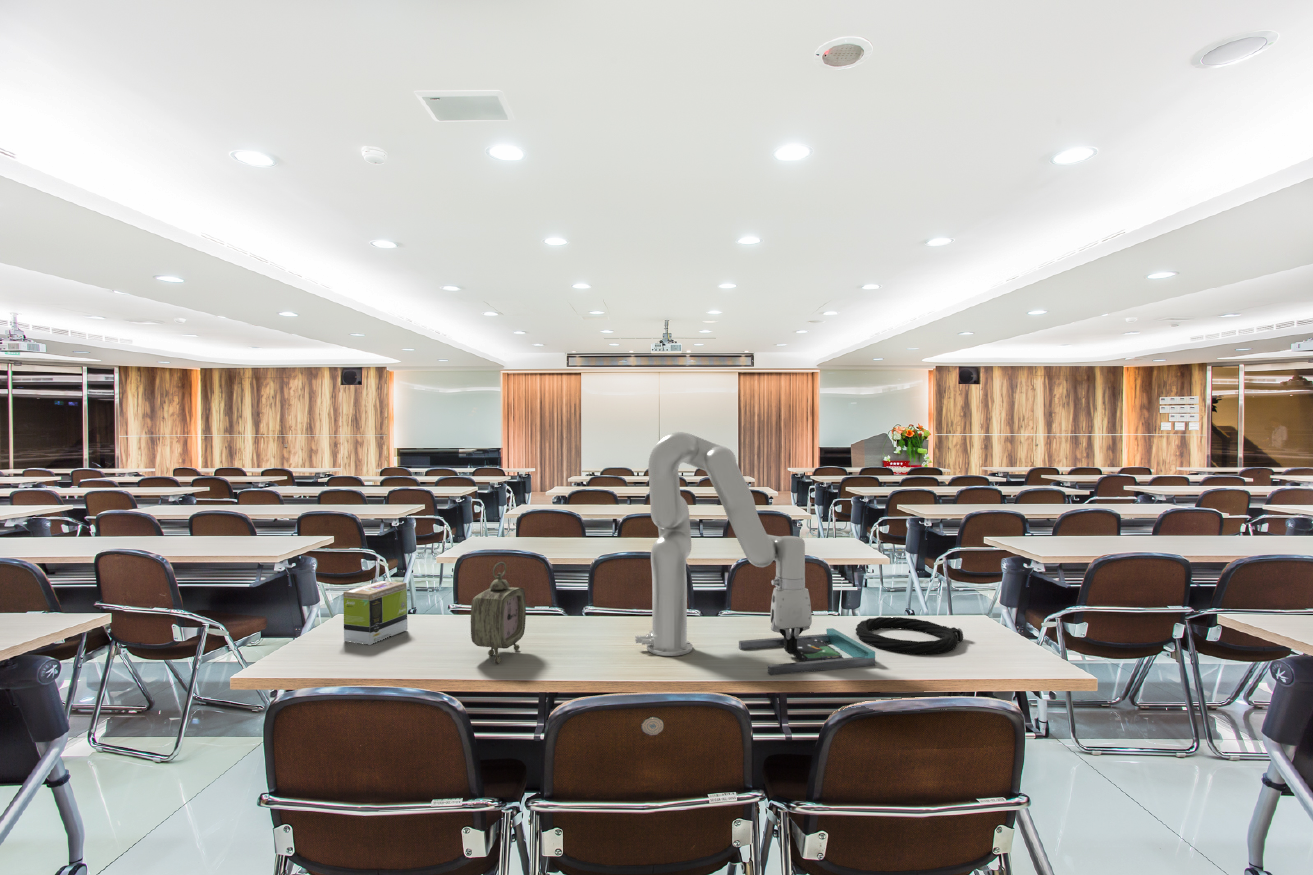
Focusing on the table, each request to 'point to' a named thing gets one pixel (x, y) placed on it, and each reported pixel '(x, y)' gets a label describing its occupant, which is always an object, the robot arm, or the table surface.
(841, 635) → the guide track
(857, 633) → the cable lock
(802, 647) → the disk drive
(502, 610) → the tabletop clock
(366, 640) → the tea box
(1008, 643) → the table surface
